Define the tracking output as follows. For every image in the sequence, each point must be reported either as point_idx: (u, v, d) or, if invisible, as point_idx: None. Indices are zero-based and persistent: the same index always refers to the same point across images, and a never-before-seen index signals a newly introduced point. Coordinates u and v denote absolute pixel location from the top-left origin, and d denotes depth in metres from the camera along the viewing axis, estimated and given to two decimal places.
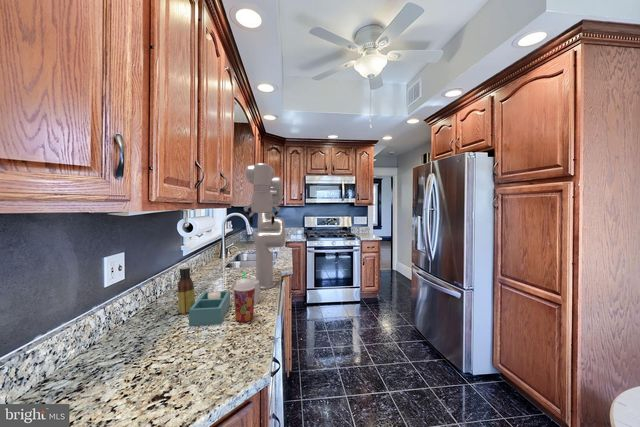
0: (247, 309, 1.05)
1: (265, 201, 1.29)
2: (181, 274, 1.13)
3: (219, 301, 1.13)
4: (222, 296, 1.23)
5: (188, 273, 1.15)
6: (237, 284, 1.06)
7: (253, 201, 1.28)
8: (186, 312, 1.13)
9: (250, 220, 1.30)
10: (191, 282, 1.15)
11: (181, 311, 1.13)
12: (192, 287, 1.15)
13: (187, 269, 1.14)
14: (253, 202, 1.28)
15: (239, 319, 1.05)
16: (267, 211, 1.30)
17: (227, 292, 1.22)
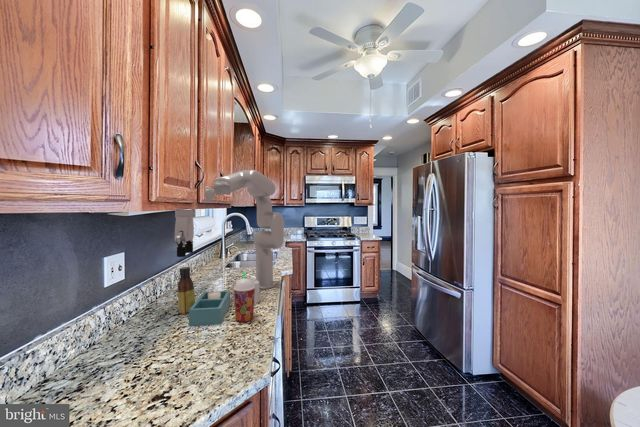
0: (247, 309, 1.05)
1: (192, 227, 1.17)
2: (181, 274, 1.13)
3: (219, 301, 1.13)
4: (222, 296, 1.23)
5: (188, 273, 1.15)
6: (237, 284, 1.06)
7: (187, 228, 1.11)
8: (186, 312, 1.13)
9: (182, 251, 1.09)
10: (191, 282, 1.15)
11: (181, 311, 1.13)
12: (192, 287, 1.15)
13: (187, 269, 1.14)
14: (187, 229, 1.11)
15: (239, 319, 1.05)
16: (192, 238, 1.18)
17: (227, 292, 1.22)
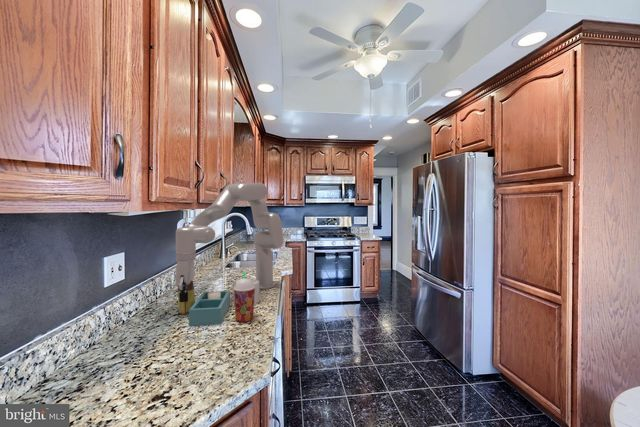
0: (247, 309, 1.05)
1: (193, 269, 1.17)
2: None
3: (219, 301, 1.13)
4: (222, 296, 1.23)
5: None
6: (237, 284, 1.06)
7: (188, 272, 1.12)
8: (186, 312, 1.13)
9: (185, 296, 1.12)
10: (191, 282, 1.15)
11: (181, 311, 1.13)
12: (192, 287, 1.15)
13: None
14: (188, 273, 1.12)
15: (239, 319, 1.05)
16: None
17: (227, 292, 1.22)
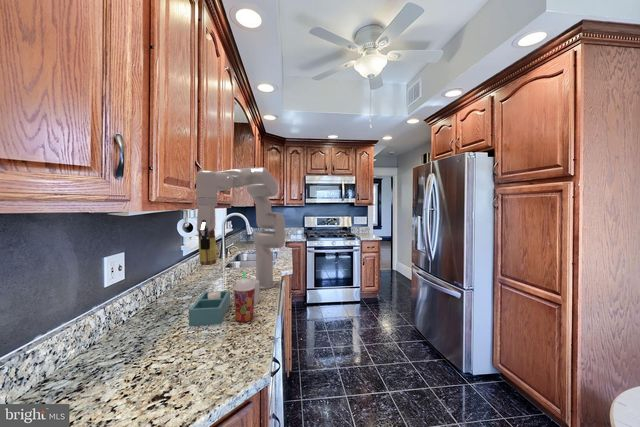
0: (247, 309, 1.05)
1: (214, 217, 1.10)
2: None
3: (219, 301, 1.13)
4: (222, 296, 1.23)
5: None
6: (237, 284, 1.06)
7: (210, 217, 1.04)
8: (208, 261, 1.05)
9: (207, 243, 1.04)
10: (212, 230, 1.07)
11: (202, 260, 1.05)
12: (213, 235, 1.08)
13: None
14: (210, 219, 1.04)
15: (239, 319, 1.05)
16: None
17: (227, 292, 1.22)
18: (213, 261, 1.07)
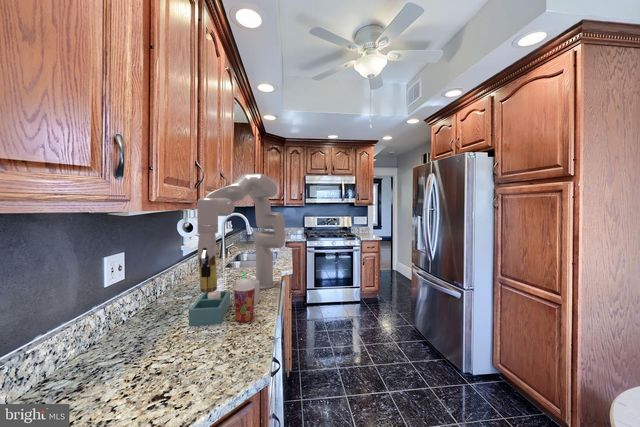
0: (247, 309, 1.05)
1: (215, 243, 1.10)
2: None
3: (219, 301, 1.13)
4: (222, 296, 1.23)
5: None
6: (237, 284, 1.06)
7: (211, 245, 1.04)
8: (208, 288, 1.05)
9: (207, 271, 1.04)
10: (213, 256, 1.07)
11: (203, 287, 1.05)
12: (214, 262, 1.08)
13: None
14: (211, 246, 1.04)
15: (239, 319, 1.05)
16: (214, 255, 1.11)
17: (227, 292, 1.22)
18: (214, 288, 1.07)
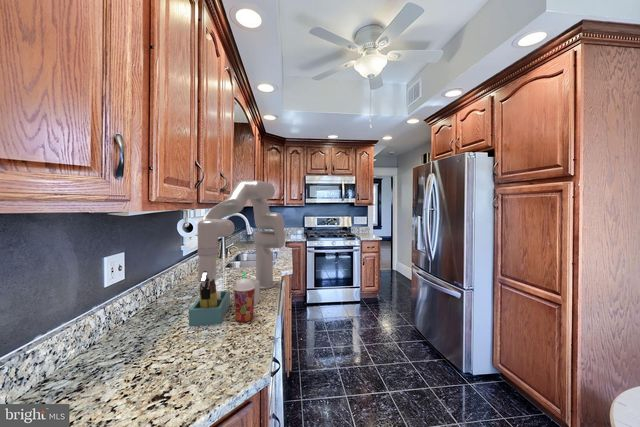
0: (247, 309, 1.05)
1: (215, 265, 1.10)
2: None
3: (219, 301, 1.13)
4: (222, 296, 1.23)
5: None
6: (237, 284, 1.06)
7: (211, 268, 1.04)
8: None
9: (207, 293, 1.03)
10: (214, 284, 1.08)
11: None
12: (215, 290, 1.08)
13: None
14: (211, 269, 1.04)
15: (239, 319, 1.05)
16: None
17: (227, 292, 1.22)
18: None
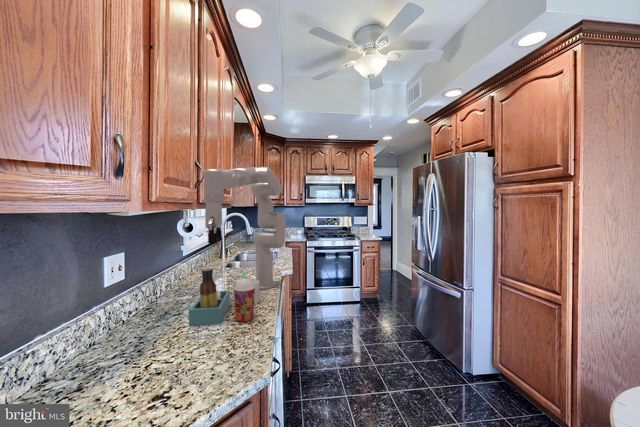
0: (247, 309, 1.05)
1: (221, 213, 1.14)
2: (204, 276, 1.07)
3: (219, 301, 1.13)
4: (222, 296, 1.23)
5: (211, 275, 1.08)
6: (237, 284, 1.06)
7: (218, 214, 1.08)
8: None
9: (214, 237, 1.07)
10: (214, 284, 1.08)
11: None
12: (215, 290, 1.08)
13: (210, 271, 1.07)
14: (218, 215, 1.08)
15: (239, 319, 1.05)
16: (221, 225, 1.15)
17: (227, 292, 1.22)
18: None
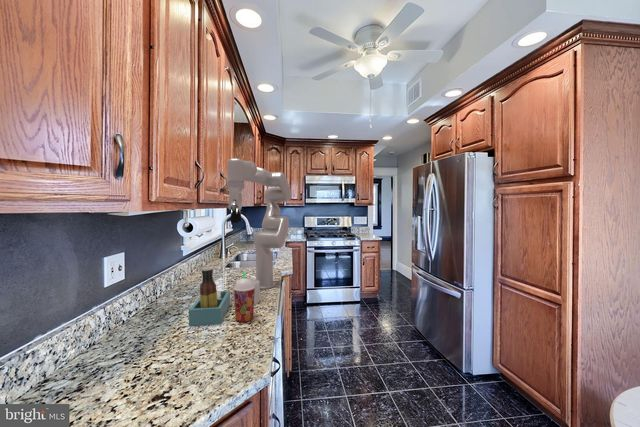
0: (247, 309, 1.05)
1: (241, 198, 1.30)
2: (204, 276, 1.07)
3: (219, 301, 1.13)
4: (222, 296, 1.23)
5: (211, 275, 1.08)
6: (237, 284, 1.06)
7: (239, 197, 1.25)
8: None
9: (236, 217, 1.23)
10: (214, 284, 1.08)
11: None
12: (215, 290, 1.08)
13: (210, 271, 1.07)
14: (239, 198, 1.25)
15: (239, 319, 1.05)
16: None
17: (227, 292, 1.22)
18: None
